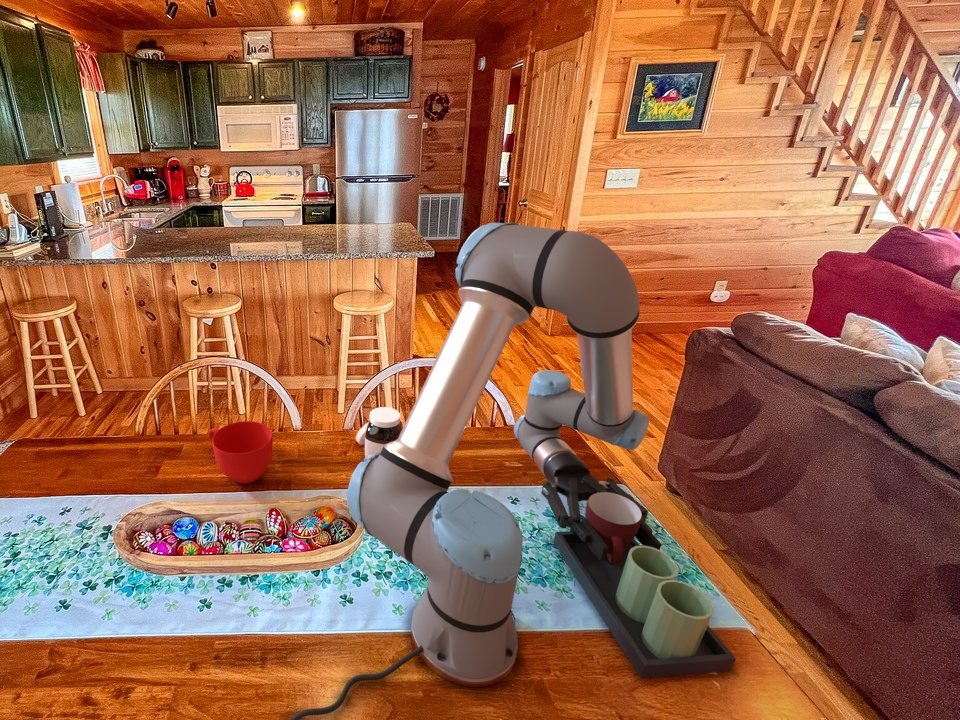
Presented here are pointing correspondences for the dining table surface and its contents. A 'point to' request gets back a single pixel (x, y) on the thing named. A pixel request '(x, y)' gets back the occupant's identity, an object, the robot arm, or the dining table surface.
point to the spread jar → (380, 430)
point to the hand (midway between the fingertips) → (630, 552)
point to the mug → (613, 522)
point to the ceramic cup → (242, 450)
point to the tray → (602, 589)
